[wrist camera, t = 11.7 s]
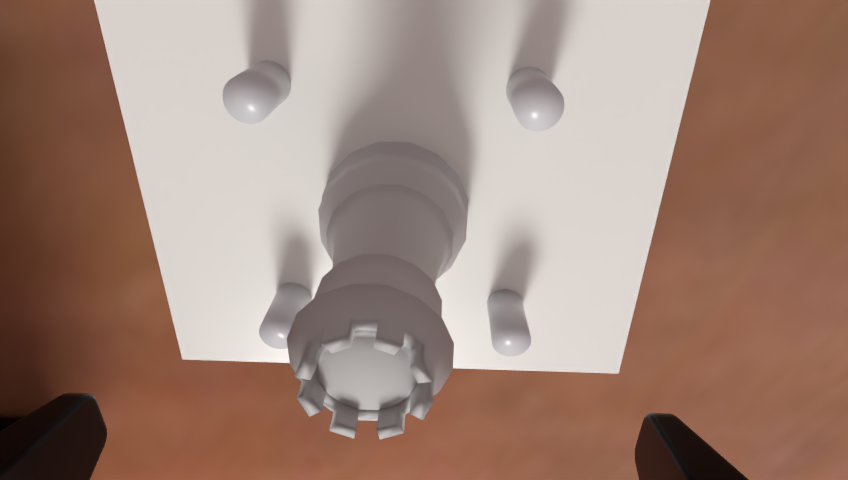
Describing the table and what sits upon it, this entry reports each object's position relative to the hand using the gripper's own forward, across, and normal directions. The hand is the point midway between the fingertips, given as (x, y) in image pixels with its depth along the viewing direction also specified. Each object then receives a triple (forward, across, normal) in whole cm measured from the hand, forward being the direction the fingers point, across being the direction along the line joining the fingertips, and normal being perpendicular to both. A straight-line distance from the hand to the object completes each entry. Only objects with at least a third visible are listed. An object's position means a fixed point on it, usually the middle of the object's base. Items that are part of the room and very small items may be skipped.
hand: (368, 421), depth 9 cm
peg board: (+10, 0, 0) cm, 10 cm away
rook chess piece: (+9, 0, 0) cm, 9 cm away
